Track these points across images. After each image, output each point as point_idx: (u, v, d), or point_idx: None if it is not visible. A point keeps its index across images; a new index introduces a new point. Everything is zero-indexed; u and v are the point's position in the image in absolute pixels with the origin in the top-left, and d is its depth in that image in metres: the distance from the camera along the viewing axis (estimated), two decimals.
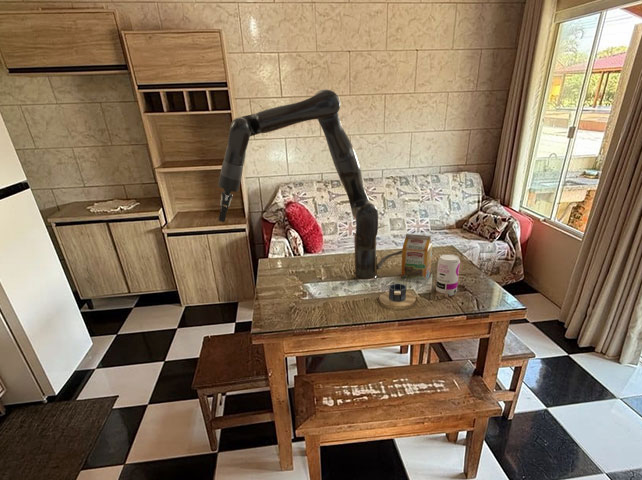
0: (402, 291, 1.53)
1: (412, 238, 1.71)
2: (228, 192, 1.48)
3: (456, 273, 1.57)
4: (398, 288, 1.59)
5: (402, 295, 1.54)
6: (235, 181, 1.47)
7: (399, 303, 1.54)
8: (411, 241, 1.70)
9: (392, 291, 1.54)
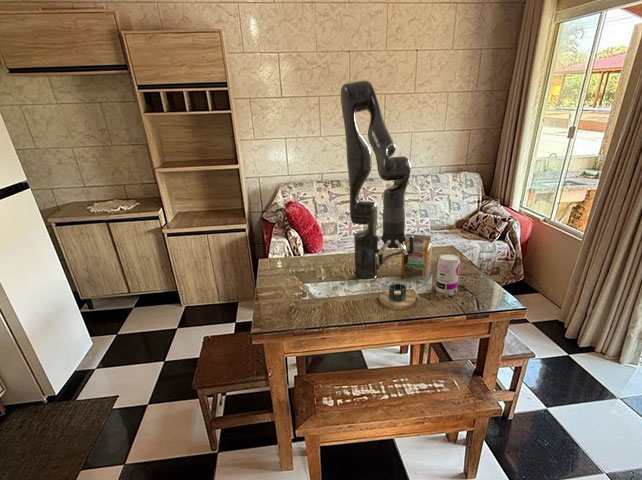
0: (402, 291, 1.53)
1: None
2: (404, 234, 1.42)
3: (456, 273, 1.57)
4: (398, 288, 1.59)
5: (402, 295, 1.54)
6: None
7: (399, 303, 1.54)
8: None
9: (392, 291, 1.54)
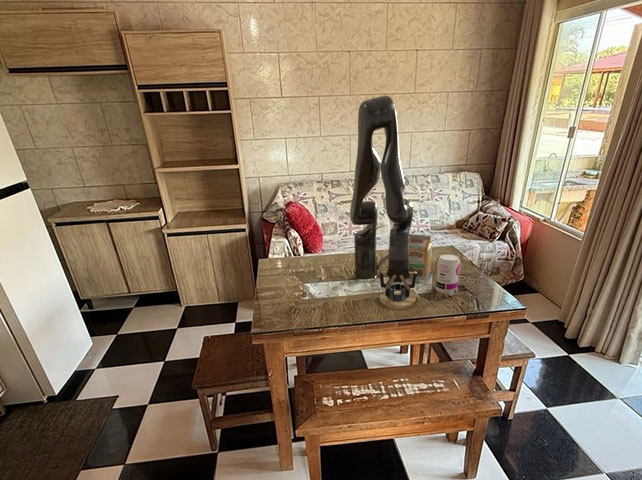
0: (402, 291, 1.53)
1: (412, 238, 1.71)
2: None
3: (456, 273, 1.57)
4: (398, 288, 1.59)
5: (402, 295, 1.54)
6: None
7: (399, 303, 1.54)
8: (411, 241, 1.70)
9: (392, 291, 1.54)
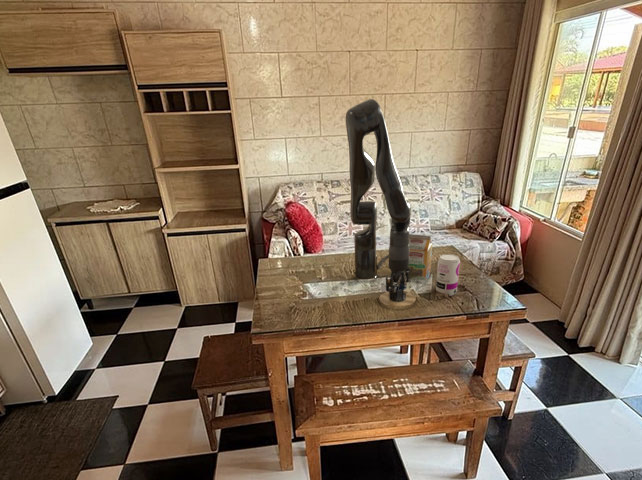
0: None
1: (412, 238, 1.71)
2: None
3: (456, 273, 1.57)
4: None
5: None
6: None
7: (399, 303, 1.54)
8: (411, 241, 1.70)
9: (400, 292, 1.53)
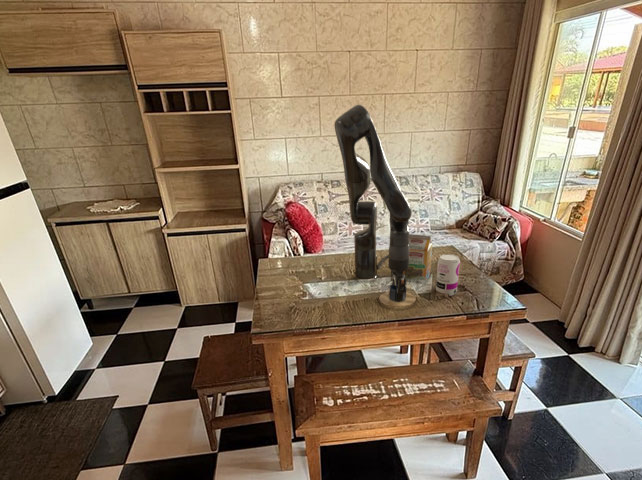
0: None
1: (412, 238, 1.71)
2: None
3: (456, 273, 1.57)
4: None
5: None
6: None
7: (399, 303, 1.54)
8: (411, 241, 1.70)
9: (405, 290, 1.54)
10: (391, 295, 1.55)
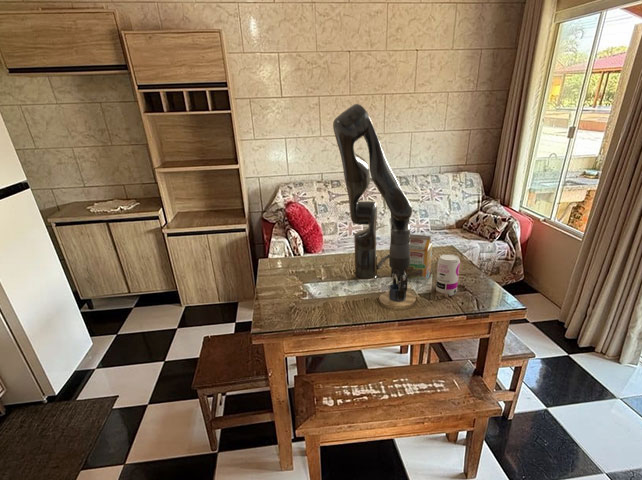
0: None
1: (412, 238, 1.71)
2: None
3: (456, 273, 1.57)
4: None
5: None
6: None
7: (399, 303, 1.54)
8: (411, 241, 1.70)
9: None
10: (391, 295, 1.55)
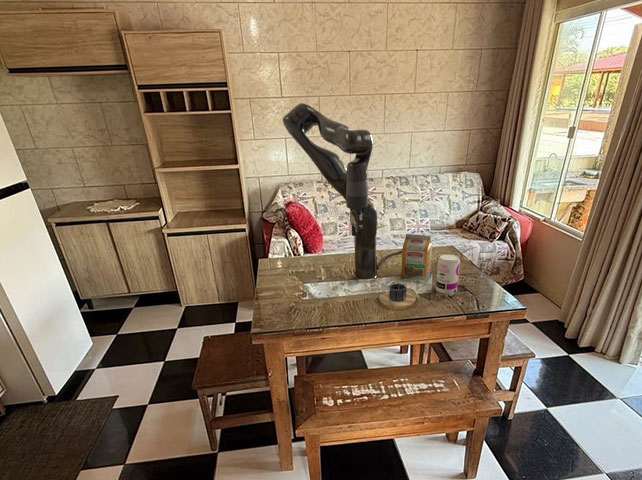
0: None
1: (412, 238, 1.71)
2: None
3: (456, 273, 1.57)
4: None
5: None
6: None
7: (399, 303, 1.54)
8: (411, 241, 1.70)
9: (405, 290, 1.54)
10: (391, 295, 1.55)
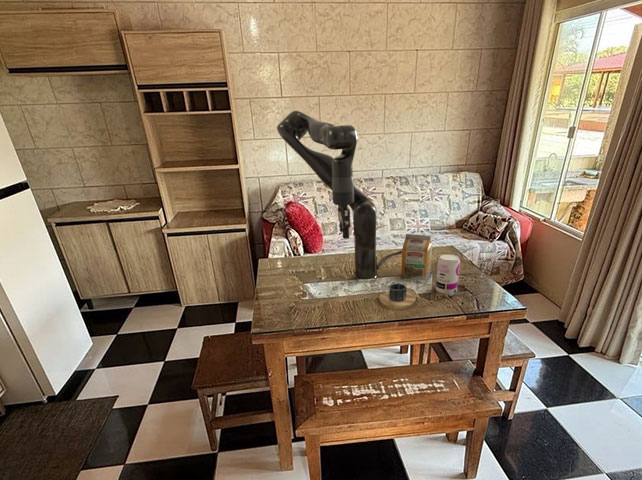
0: None
1: (412, 238, 1.71)
2: None
3: (456, 273, 1.57)
4: None
5: None
6: None
7: (399, 303, 1.54)
8: (411, 241, 1.70)
9: (405, 290, 1.54)
10: (391, 295, 1.55)
